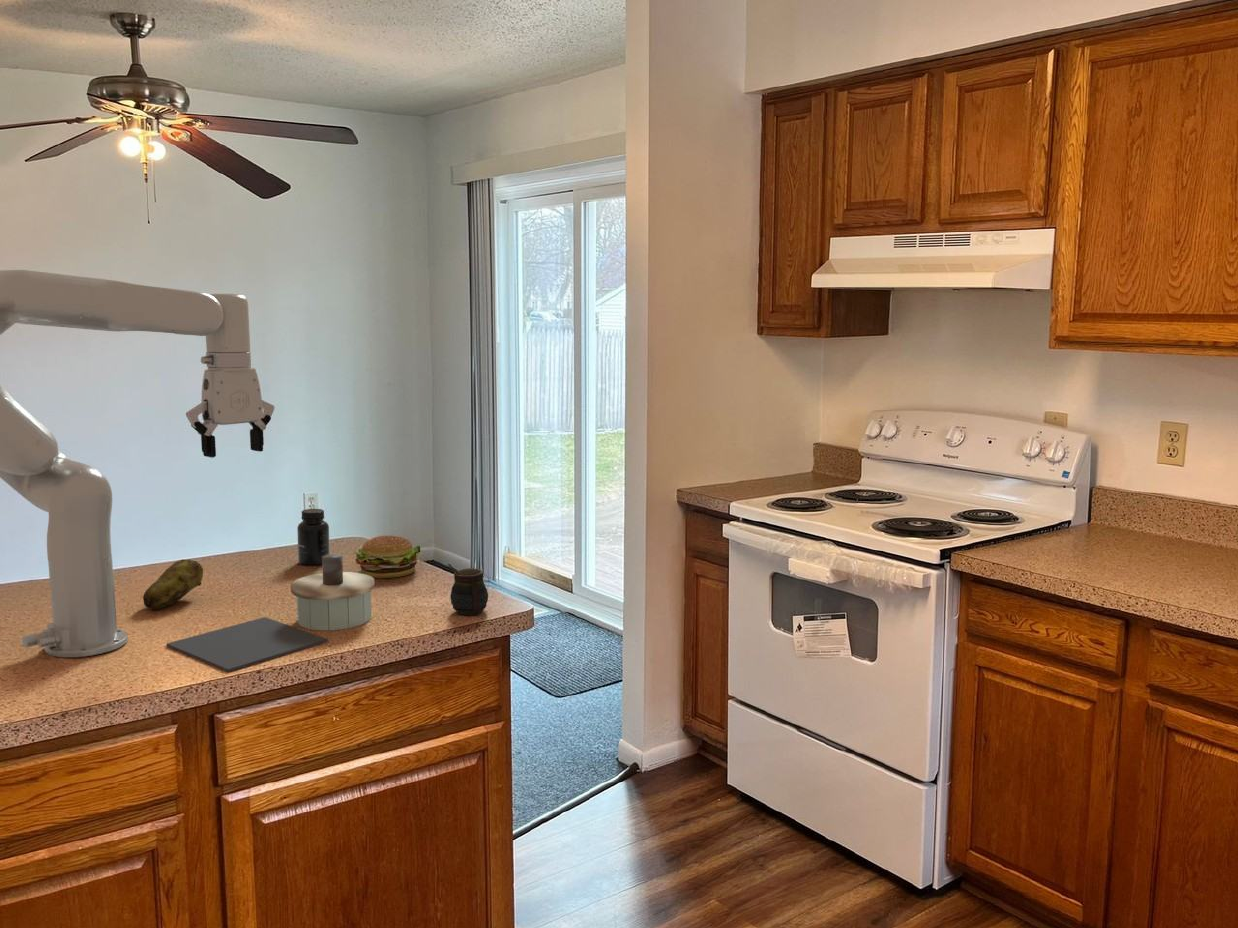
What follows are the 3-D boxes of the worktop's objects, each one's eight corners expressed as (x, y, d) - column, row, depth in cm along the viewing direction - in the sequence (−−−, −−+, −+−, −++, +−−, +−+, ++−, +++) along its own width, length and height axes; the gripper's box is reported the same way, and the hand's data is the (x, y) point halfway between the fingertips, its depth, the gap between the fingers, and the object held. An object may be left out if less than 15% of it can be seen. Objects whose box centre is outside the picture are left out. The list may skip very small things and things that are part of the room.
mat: (228, 672, 162) (228, 669, 162) (166, 646, 174) (166, 643, 174) (327, 641, 177) (327, 638, 177) (265, 619, 189) (264, 616, 189)
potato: (130, 606, 196) (127, 566, 194) (193, 592, 205) (191, 553, 204) (151, 615, 190) (148, 574, 189) (215, 600, 200) (213, 561, 199)
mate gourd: (495, 614, 194) (494, 563, 192) (457, 620, 190) (456, 569, 188) (479, 604, 200) (478, 554, 198) (443, 610, 196) (442, 560, 194)
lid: (324, 605, 178) (323, 571, 177) (274, 589, 187) (272, 557, 186) (391, 586, 190) (390, 555, 189) (341, 572, 199) (340, 542, 198)
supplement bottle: (292, 565, 226) (290, 512, 224) (307, 557, 233) (305, 506, 231) (321, 567, 225) (319, 514, 223) (335, 559, 232) (333, 508, 230)
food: (344, 580, 216) (343, 543, 214) (369, 563, 230) (368, 528, 228) (406, 583, 214) (406, 546, 213) (428, 566, 228) (427, 531, 226)
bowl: (326, 635, 181) (325, 602, 180) (283, 620, 188) (282, 589, 187) (384, 617, 191) (384, 586, 190) (341, 604, 199) (340, 574, 198)
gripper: (195, 364, 177) (201, 461, 180) (282, 360, 191) (286, 450, 194) (173, 362, 182) (179, 456, 185) (259, 358, 196) (263, 446, 198)
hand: (233, 453), depth 189 cm, fingers open, 9 cm apart
